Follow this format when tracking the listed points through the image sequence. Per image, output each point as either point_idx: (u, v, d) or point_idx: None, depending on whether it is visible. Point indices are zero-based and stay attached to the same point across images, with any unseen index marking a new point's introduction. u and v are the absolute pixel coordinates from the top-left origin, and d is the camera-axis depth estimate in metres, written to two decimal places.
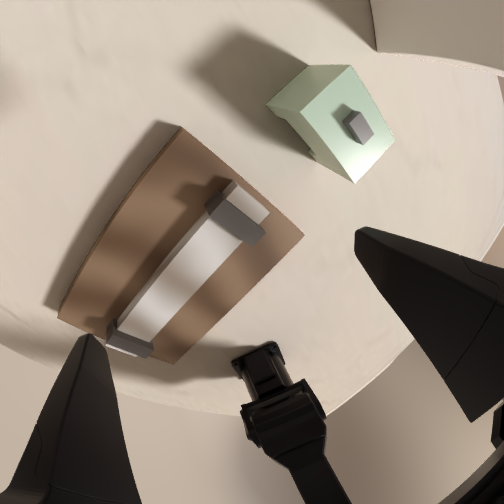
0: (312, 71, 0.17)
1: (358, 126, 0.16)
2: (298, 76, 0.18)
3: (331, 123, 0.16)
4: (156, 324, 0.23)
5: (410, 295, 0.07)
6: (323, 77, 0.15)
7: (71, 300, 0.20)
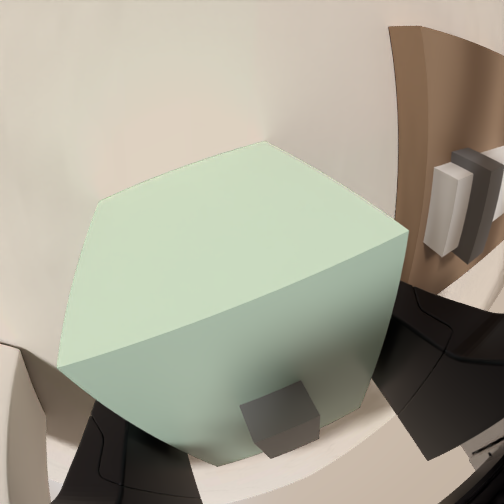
0: None
1: (299, 440, 0.05)
2: None
3: (331, 404, 0.06)
4: None
5: None
6: None
7: None
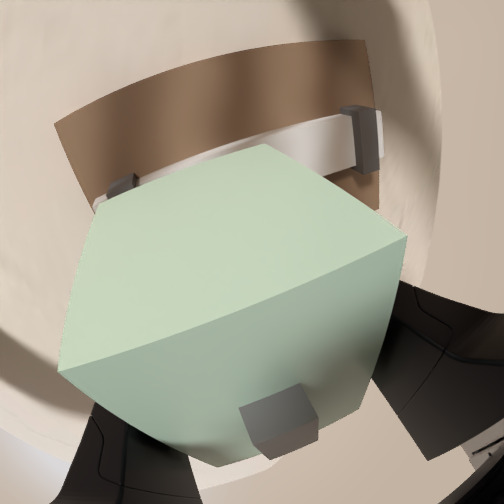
0: None
1: (298, 442, 0.05)
2: None
3: (330, 406, 0.06)
4: (320, 134, 0.16)
5: None
6: None
7: None
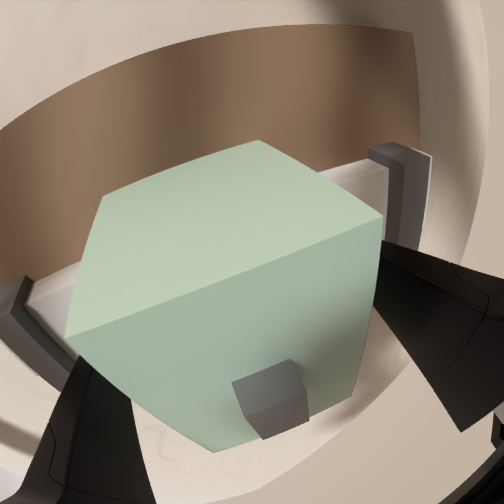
0: None
1: (289, 420, 0.05)
2: None
3: (321, 389, 0.07)
4: None
5: (397, 303, 0.07)
6: None
7: None
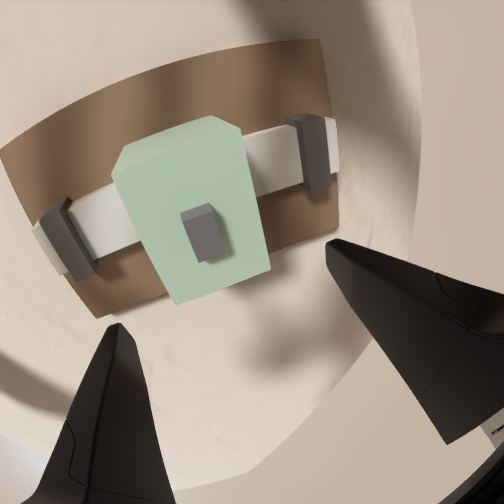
0: None
1: (211, 243, 0.11)
2: None
3: (239, 244, 0.12)
4: (257, 150, 0.15)
5: (380, 313, 0.07)
6: None
7: (304, 234, 0.21)
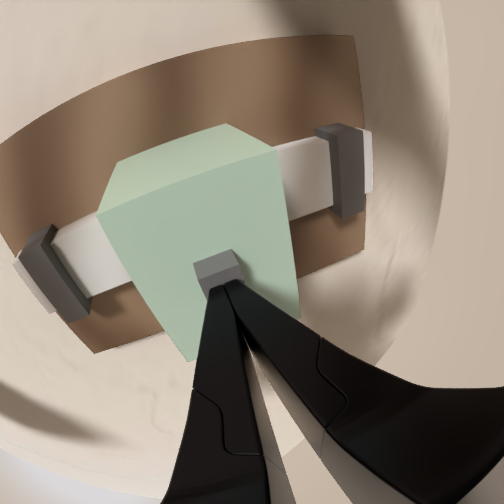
0: None
1: None
2: None
3: (267, 294, 0.10)
4: (282, 168, 0.12)
5: (266, 369, 0.06)
6: None
7: (327, 260, 0.18)
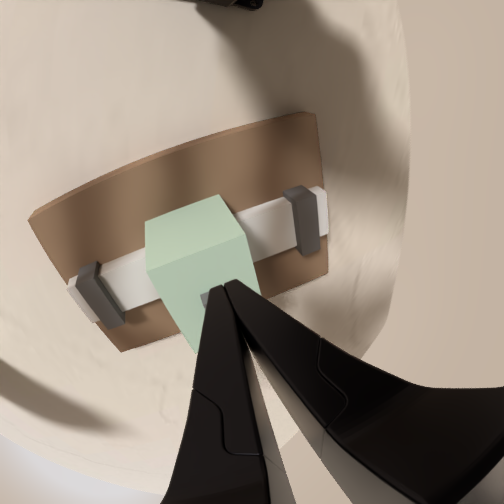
0: None
1: None
2: None
3: None
4: (258, 225, 0.18)
5: (266, 369, 0.06)
6: None
7: (297, 281, 0.24)
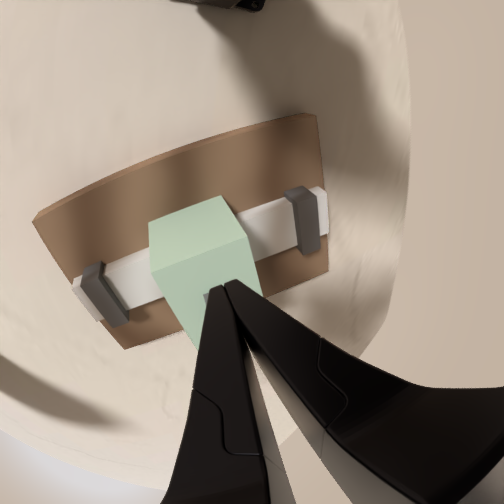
0: None
1: None
2: None
3: None
4: (259, 225, 0.19)
5: (266, 369, 0.06)
6: None
7: (298, 279, 0.24)
